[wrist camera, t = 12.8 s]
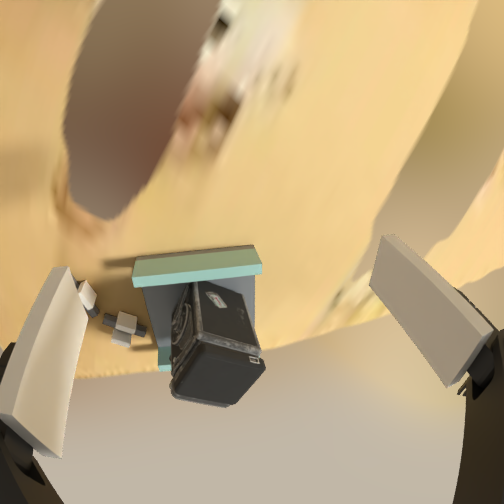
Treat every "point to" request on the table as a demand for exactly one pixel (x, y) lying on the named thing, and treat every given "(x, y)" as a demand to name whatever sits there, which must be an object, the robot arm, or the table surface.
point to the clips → (124, 320)
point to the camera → (213, 346)
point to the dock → (191, 270)
